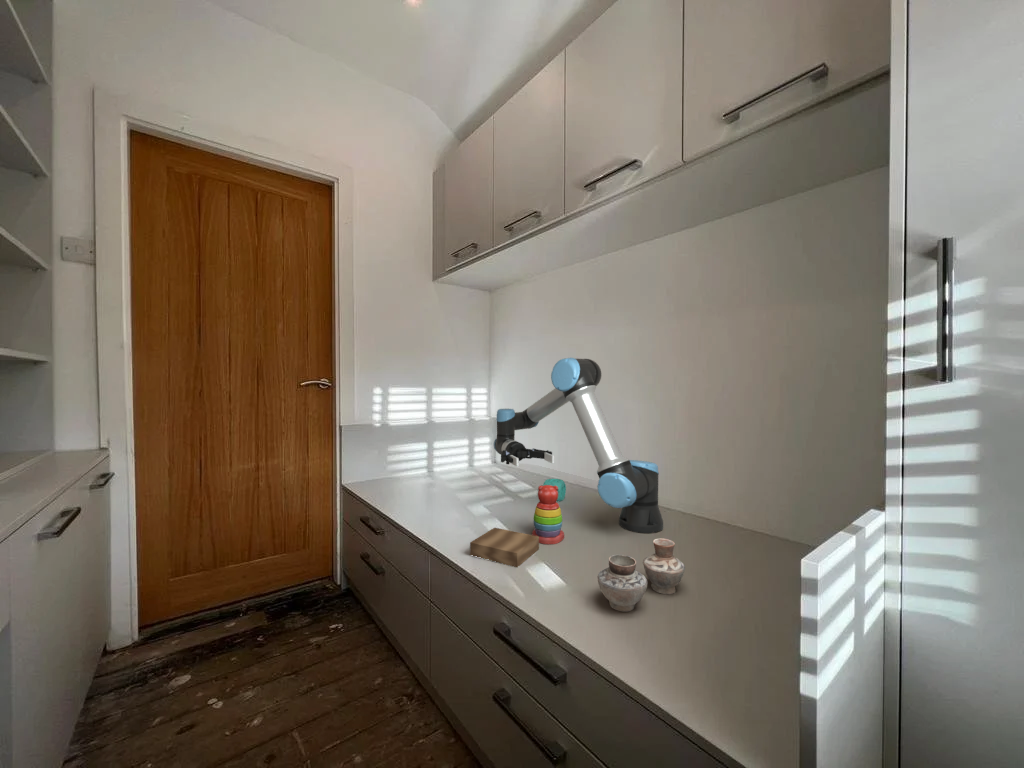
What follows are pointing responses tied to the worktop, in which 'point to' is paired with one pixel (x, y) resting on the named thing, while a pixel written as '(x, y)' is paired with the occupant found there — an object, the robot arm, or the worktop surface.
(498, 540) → the plinth
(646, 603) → the worktop surface
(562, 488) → the decorative dice
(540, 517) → the stacking bear
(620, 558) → the pottery
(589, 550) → the worktop surface
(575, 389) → the robot arm
